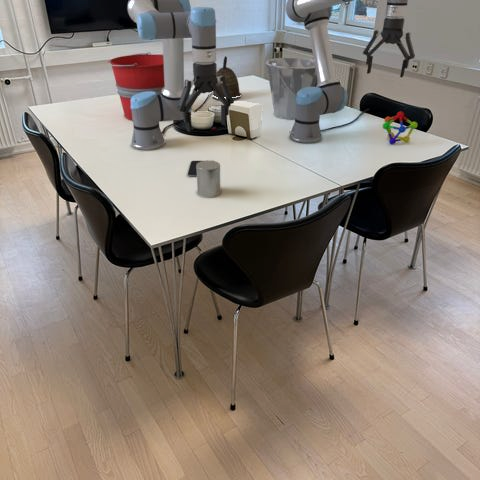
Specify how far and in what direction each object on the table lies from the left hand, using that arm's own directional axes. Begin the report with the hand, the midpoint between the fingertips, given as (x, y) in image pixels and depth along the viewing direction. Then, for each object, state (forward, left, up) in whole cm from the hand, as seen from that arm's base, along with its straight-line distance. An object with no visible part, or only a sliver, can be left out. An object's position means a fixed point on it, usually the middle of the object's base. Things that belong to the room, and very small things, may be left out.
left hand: (206, 128), depth 151 cm
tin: (0, 0, -24) cm, 24 cm away
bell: (-137, -13, -24) cm, 140 cm away
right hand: (-50, +66, +9) cm, 83 cm away
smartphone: (-21, -8, -24) cm, 33 cm away
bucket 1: (-94, -52, -24) cm, 110 cm away
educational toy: (-64, +79, -24) cm, 104 cm away
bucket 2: (-105, +28, -24) cm, 111 cm away
